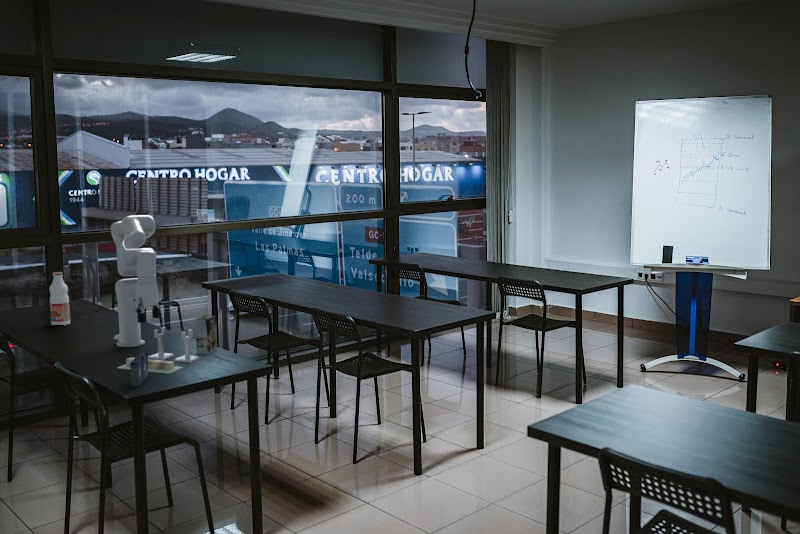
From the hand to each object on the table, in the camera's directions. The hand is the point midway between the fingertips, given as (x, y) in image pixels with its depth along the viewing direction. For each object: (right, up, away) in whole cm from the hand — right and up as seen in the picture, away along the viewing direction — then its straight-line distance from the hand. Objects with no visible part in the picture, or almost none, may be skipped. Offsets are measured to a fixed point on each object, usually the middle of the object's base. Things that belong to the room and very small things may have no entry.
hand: (148, 320), depth 336 cm
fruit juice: (-76, -9, +91) cm, 119 cm away
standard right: (+12, -18, +15) cm, 27 cm away
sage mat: (0, -20, +2) cm, 20 cm away
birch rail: (0, -20, +2) cm, 20 cm away
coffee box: (+17, -17, +30) cm, 39 cm away
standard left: (-1, -18, +20) cm, 27 cm away
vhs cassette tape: (+2, -23, -17) cm, 29 cm away
